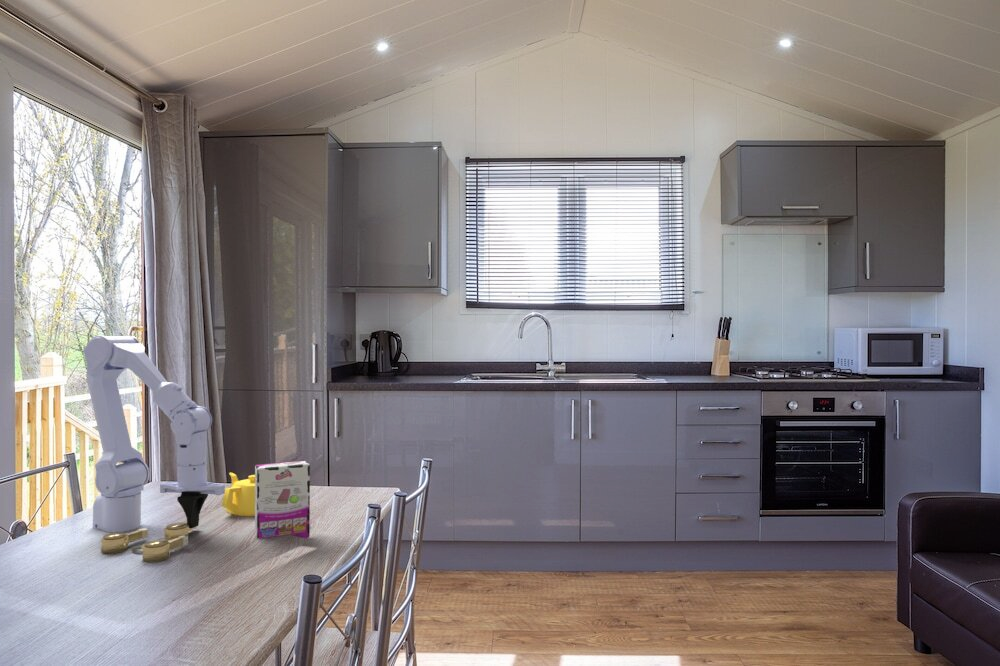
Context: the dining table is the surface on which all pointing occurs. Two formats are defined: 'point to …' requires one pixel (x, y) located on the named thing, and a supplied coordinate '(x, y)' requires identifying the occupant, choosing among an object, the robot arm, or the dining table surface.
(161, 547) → the knob front
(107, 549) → the knob inner
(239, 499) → the teapot
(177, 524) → the knob rear
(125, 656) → the dining table surface
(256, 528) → the candy bar box
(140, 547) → the tribrach plate
